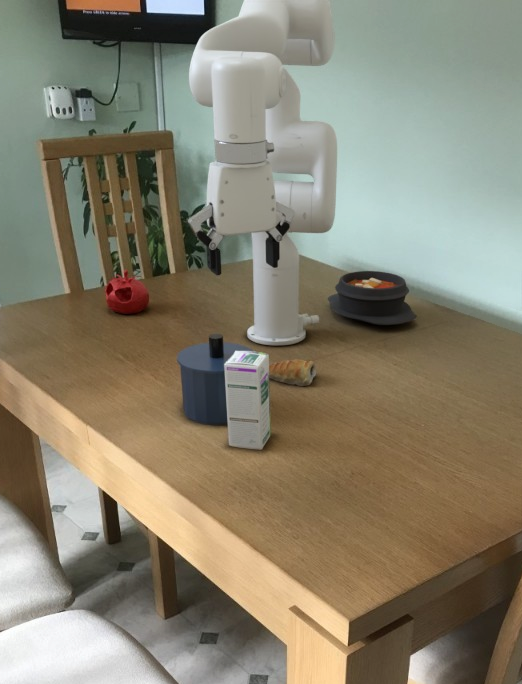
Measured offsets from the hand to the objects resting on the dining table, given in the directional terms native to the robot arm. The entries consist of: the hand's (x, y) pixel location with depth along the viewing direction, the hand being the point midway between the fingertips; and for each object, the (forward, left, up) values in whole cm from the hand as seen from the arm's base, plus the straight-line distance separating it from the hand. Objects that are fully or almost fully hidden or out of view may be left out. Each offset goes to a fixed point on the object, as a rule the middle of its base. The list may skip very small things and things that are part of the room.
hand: (244, 269), depth 129 cm
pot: (+4, -4, -25) cm, 26 cm away
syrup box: (+4, +10, -25) cm, 27 cm away
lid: (+4, -4, -16) cm, 17 cm away
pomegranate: (+3, -64, -25) cm, 69 cm away
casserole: (-47, -38, -25) cm, 66 cm away
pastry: (-14, -11, -25) cm, 31 cm away
